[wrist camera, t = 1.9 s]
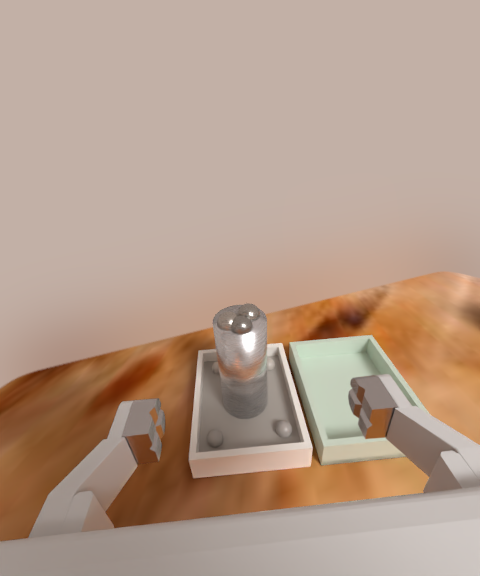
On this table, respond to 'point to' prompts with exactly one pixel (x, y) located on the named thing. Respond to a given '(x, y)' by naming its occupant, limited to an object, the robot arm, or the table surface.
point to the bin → (342, 395)
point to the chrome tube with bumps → (242, 359)
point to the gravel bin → (247, 424)
